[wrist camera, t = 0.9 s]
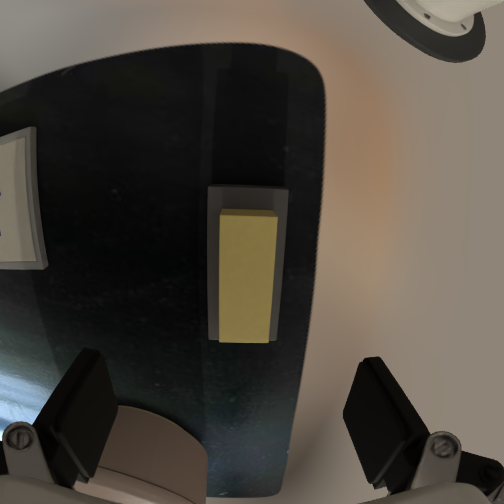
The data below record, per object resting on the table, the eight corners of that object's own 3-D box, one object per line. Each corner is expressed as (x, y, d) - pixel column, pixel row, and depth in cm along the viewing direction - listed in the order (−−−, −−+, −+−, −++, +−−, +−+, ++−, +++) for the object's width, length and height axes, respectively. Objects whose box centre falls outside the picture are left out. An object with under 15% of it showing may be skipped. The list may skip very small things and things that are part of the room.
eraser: (211, 183, 22) (203, 189, 17) (283, 186, 22) (295, 193, 17) (210, 323, 25) (205, 358, 21) (273, 325, 26) (280, 359, 21)
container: (170, 387, 27) (148, 480, 16) (229, 469, 33) (229, 537, 22) (56, 399, 28) (20, 461, 17) (125, 473, 34) (111, 529, 22)
